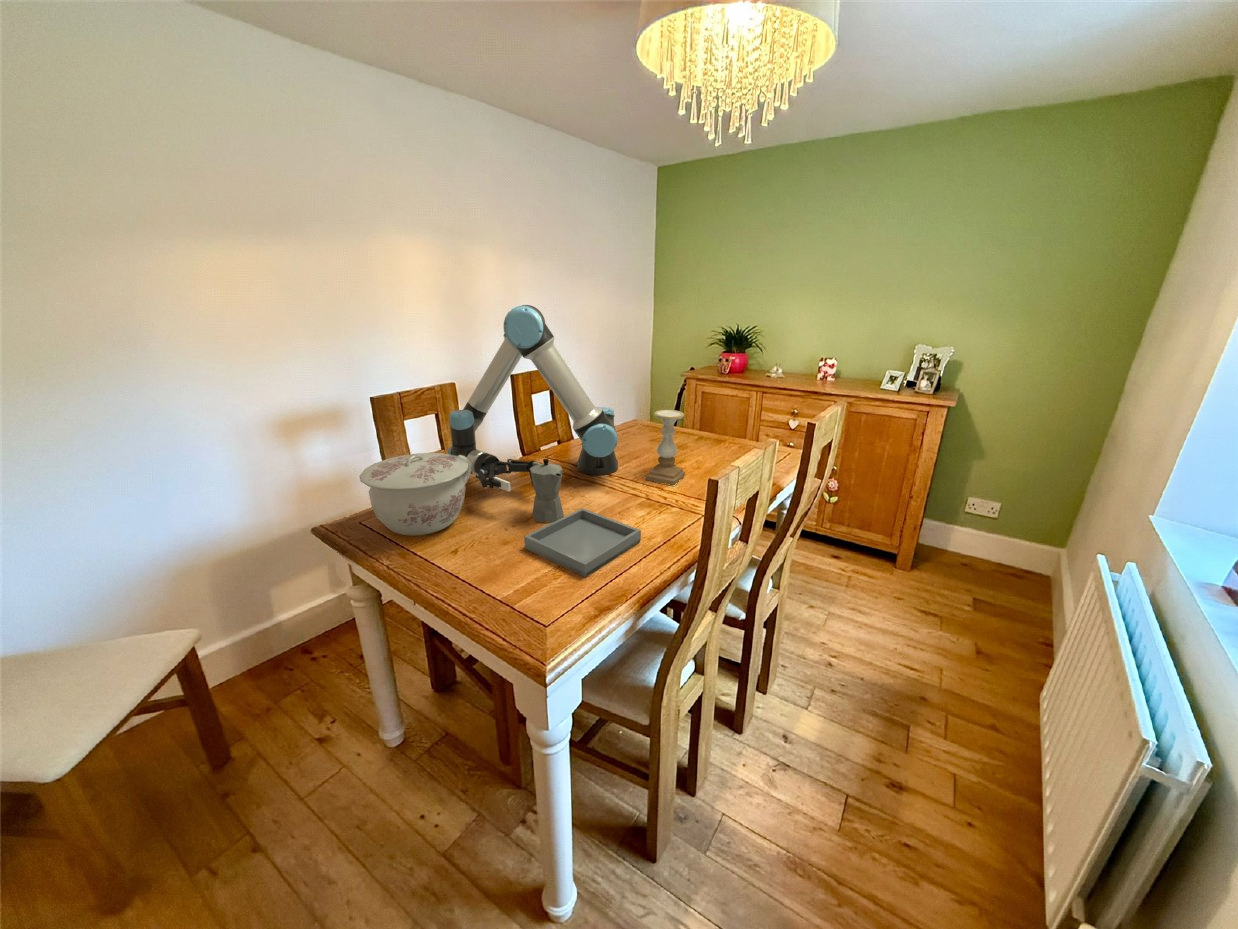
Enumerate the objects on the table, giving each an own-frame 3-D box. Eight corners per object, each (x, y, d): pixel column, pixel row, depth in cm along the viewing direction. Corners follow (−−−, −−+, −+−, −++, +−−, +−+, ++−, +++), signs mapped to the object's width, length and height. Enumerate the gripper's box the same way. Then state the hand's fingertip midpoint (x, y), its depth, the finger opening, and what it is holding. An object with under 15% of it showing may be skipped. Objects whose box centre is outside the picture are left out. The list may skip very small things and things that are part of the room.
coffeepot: (574, 519, 142) (573, 461, 135) (548, 529, 135) (545, 468, 129) (543, 502, 152) (541, 448, 146) (517, 511, 146) (514, 454, 140)
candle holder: (645, 480, 171) (647, 414, 162) (657, 470, 180) (660, 407, 172) (674, 486, 166) (678, 418, 158) (685, 476, 175) (689, 411, 167)
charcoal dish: (582, 519, 142) (582, 508, 140) (640, 541, 130) (640, 530, 128) (524, 548, 125) (524, 536, 124) (585, 577, 113) (585, 564, 112)
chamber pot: (361, 555, 121) (346, 478, 114) (377, 509, 145) (365, 443, 138) (477, 540, 129) (470, 467, 122) (474, 499, 153) (468, 436, 146)
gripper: (514, 464, 167) (557, 480, 154) (450, 486, 148) (494, 505, 136) (513, 444, 164) (557, 457, 152) (447, 463, 146) (492, 480, 134)
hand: (527, 480), depth 144 cm, fingers open, 13 cm apart
